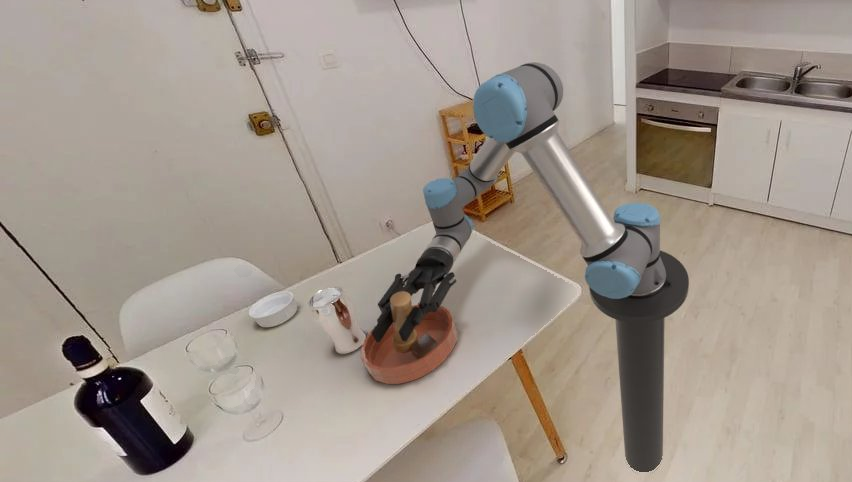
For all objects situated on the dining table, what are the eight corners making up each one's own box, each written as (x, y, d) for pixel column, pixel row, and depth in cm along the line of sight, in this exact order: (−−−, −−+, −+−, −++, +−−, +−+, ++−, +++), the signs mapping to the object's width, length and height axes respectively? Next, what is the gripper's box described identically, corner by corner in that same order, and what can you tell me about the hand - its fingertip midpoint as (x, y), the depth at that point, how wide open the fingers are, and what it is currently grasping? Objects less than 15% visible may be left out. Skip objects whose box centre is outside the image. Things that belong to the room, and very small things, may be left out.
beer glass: (337, 337, 97) (310, 290, 90) (370, 327, 100) (347, 281, 92) (330, 360, 92) (302, 312, 85) (366, 349, 94) (341, 302, 87)
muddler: (420, 335, 92) (417, 290, 83) (412, 354, 89) (408, 309, 80) (398, 333, 91) (393, 287, 82) (389, 352, 88) (382, 306, 79)
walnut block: (439, 351, 92) (439, 343, 89) (424, 365, 89) (423, 358, 86) (427, 340, 93) (426, 332, 90) (411, 353, 90) (410, 346, 87)
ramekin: (260, 335, 98) (251, 323, 96) (253, 317, 104) (245, 304, 101) (304, 314, 104) (296, 302, 102) (295, 297, 109) (288, 285, 107)
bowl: (468, 317, 102) (464, 302, 100) (437, 384, 86) (431, 369, 84) (395, 318, 102) (389, 304, 100) (351, 386, 86) (342, 371, 84)
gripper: (477, 269, 102) (439, 348, 81) (406, 271, 101) (350, 351, 81) (470, 245, 98) (428, 322, 78) (397, 247, 98) (336, 324, 77)
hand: (389, 336), depth 79 cm, fingers closed on muddler, 4 cm apart
